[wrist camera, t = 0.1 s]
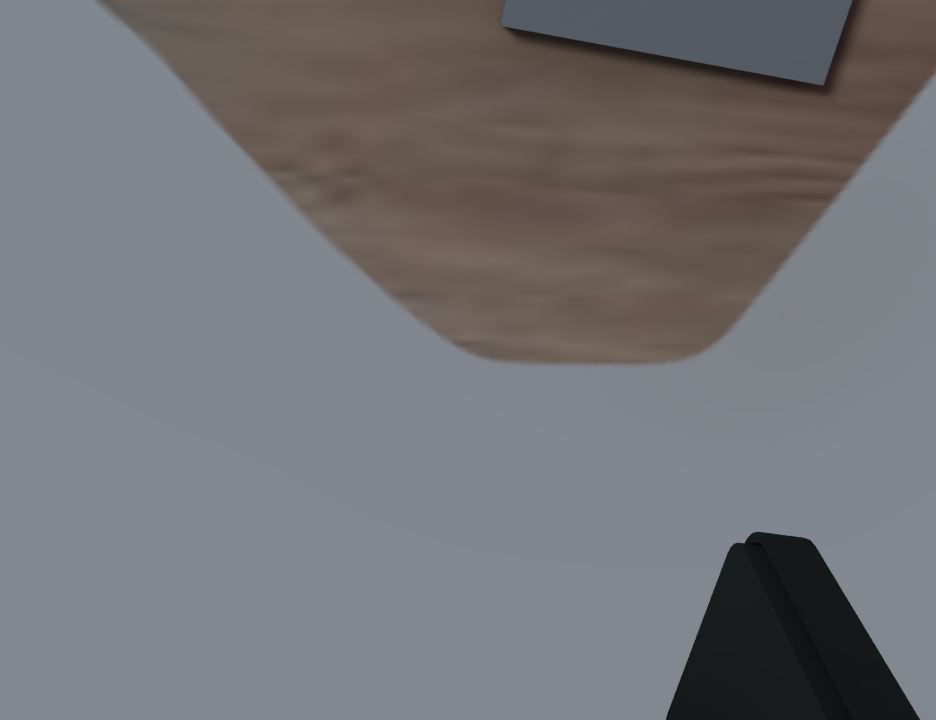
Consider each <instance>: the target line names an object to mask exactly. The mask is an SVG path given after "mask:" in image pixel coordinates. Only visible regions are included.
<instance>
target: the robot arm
mask: <svg viewBox="0 0 936 720" xmlns="http://www.w3.org/2000/svg"><path fill="white" fill-rule="evenodd" d="M666 720H920V719H919V717H918V716H917V714H916V712H915V711H914V709H913V707H912V706H911V704H910V703H909V701H908V699H907V697H906V696H905V694H904V693H903V691H902V689H901V687H900V686H899V684H898V683H897V681H896V679H895V677H894V676H893V674H892V673H891V671H890V669H889V668H888V666H887V664H886V663H885V661H884V659H883V658H882V656H881V654H880V653H879V651H878V649H877V648H876V646H875V644H874V643H873V641H872V639H871V638H870V636H869V634H868V633H867V631H866V629H865V628H864V626H863V624H862V623H861V621H860V619H859V618H858V616H857V615H856V613H855V611H854V610H853V608H852V606H851V604H850V603H849V601H848V599H847V598H846V596H845V595H844V593H843V592H842V589H841V588H840V586H839V584H838V583H837V581H836V580H835V578H834V576H833V575H832V573H831V571H830V570H829V568H828V566H827V565H826V563H825V561H824V560H823V558H822V556H821V555H820V553H819V551H818V550H817V548H816V546H815V545H814V544H813V543H812V542H811V541H810V540H808V539H806V538H801V537H794V536H786V535H779V534H771V533H763V532H755V533H752V534H751V535H750V536H749V537H748V538H747V540H746V542H745V544H744V543H735V544H734V545H733V546H732V547H731V548H730V550H729V552H728V554H727V557H726V559H725V562H724V564H723V567H722V570H721V572H720V575H719V578H718V581H717V583H716V586H715V588H714V591H713V594H712V596H711V599H710V602H709V604H708V607H707V610H706V613H705V615H704V618H703V620H702V623H701V626H700V629H699V631H698V634H697V637H696V639H695V642H694V644H693V647H692V650H691V652H690V655H689V658H688V660H687V663H686V666H685V668H684V671H683V674H682V676H681V679H680V682H679V684H678V687H677V690H676V692H675V695H674V698H673V701H672V703H671V706H670V709H669V711H668V714H667V718H666Z"/></svg>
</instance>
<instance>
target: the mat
mask: <svg viewBox="0 0 936 720" xmlns="http://www.w3.org/2000/svg"><path fill="white" fill-rule="evenodd" d="M851 3H852V0H504V6H503V11H502V17H501V23H500V25H501V26H504V27H509V28H515V29H520V30H526V31H531V32H536V33H542V34H547V35H553V36H558V37H563V38H569V39H574V40H580V41H585V42H590V43H596V44H601V45H607V46H612V47H618V48H623V49H628V50H634V51H639V52H645V53H650V54H655V55H661V56H666V57H672V58H677V59H682V60H688V61H693V62H699V63H704V64H710V65H715V66H720V67H726V68H731V69H737V70H742V71H747V72H753V73H758V74H764V75H769V76H775V77H780V78H785V79H791V80H796V81H802V82H807V83H812V84H818V85H824V82H825V79H826V76H827V73H828V70H829V67H830V64H831V61H832V59H833V56H834V53H835V50H836V47H837V44H838V41H839V38H840V35H841V32H842V29H843V26H844V23H845V20H846V18H847V15H848V12H849V9H850V6H851Z"/></svg>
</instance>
